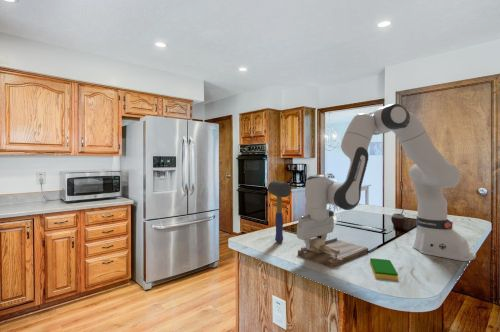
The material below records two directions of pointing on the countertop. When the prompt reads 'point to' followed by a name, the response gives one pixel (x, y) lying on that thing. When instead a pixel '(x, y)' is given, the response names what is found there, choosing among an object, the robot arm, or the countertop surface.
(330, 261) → the walnut board
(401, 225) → the mate gourd
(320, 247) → the marking gauge
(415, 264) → the countertop surface
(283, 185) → the rubber mallet
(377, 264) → the dish sponge
